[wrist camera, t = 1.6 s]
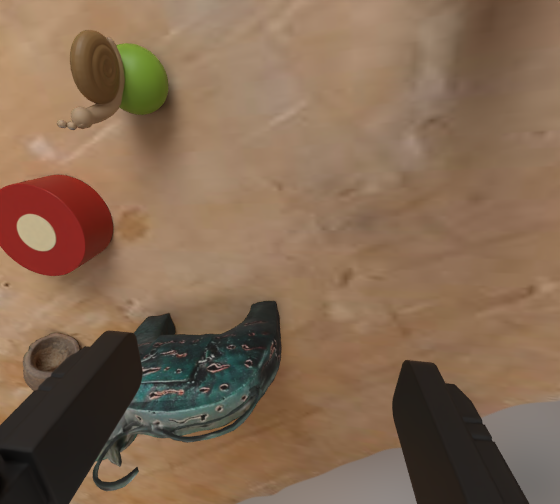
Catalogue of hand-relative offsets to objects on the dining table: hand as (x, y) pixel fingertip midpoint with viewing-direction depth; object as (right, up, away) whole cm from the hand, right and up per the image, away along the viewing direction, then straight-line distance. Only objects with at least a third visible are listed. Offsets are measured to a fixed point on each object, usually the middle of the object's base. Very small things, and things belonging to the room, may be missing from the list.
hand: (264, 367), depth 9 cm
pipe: (-30, -15, +37) cm, 50 cm away
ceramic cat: (-9, -5, +31) cm, 32 cm away
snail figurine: (-12, +19, +21) cm, 31 cm away
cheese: (-24, +7, +27) cm, 37 cm away
